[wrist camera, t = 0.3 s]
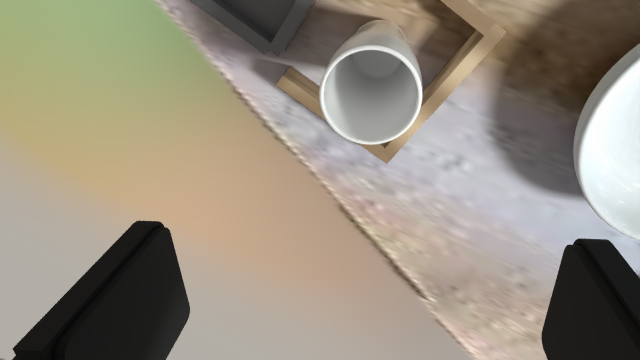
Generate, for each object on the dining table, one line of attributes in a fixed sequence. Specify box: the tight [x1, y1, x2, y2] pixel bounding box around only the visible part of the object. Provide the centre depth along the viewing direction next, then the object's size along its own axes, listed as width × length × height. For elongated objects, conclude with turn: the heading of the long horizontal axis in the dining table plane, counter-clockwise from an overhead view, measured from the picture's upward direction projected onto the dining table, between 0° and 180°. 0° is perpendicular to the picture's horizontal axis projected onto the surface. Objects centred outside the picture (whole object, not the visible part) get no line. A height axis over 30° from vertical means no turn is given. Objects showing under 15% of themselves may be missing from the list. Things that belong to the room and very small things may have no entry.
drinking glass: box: [319, 20, 422, 145], centre depth 33 cm, size 7×7×15 cm
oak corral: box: [276, 0, 506, 164], centre depth 38 cm, size 15×13×4 cm
